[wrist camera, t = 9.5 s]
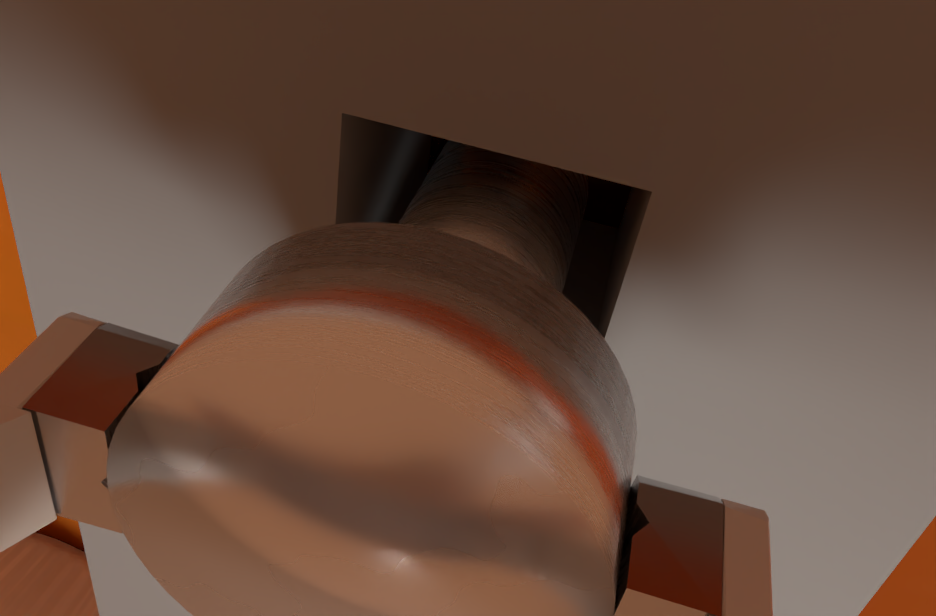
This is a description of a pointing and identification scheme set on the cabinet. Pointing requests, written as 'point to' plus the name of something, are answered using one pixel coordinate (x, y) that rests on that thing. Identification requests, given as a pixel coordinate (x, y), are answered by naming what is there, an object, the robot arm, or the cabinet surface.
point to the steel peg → (392, 419)
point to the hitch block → (598, 246)
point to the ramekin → (45, 579)
